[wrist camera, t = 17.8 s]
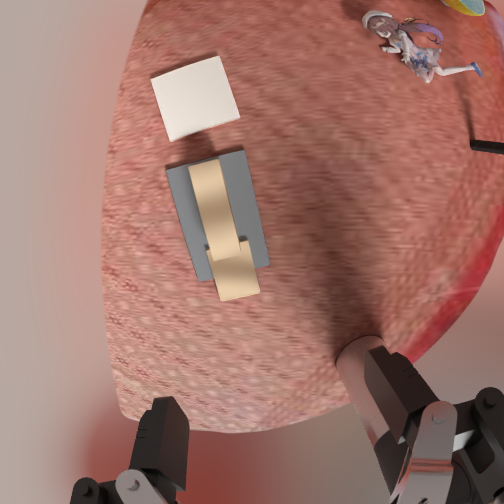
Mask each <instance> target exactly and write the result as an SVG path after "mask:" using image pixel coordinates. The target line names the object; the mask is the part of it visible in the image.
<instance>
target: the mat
mask: <svg viewBox="0 0 504 504" xmlns="http://www.w3.org/2000/svg"><path fill="white" fill-rule="evenodd" d="M219 158H220V162H221V167H222V171H223V175H224V179H225V183H226V188H227V192H228V196H229V200H230V204H231V208H232V213H233V217H234V221H235V225H236V229H237V233H238V237H239V241H242V240H246V239H248V242H249V246H250V251H251V255H252V259H253V264H254V268H255V269H256V268H260V267H264V266H268V265H270V261H269V256H268V252H267V247H266V243H265V238H264V233H263V229H262V224H261V220H260V215H259V211H258V206H257V202H256V197H255V193H254V188H253V184H252V180H251V175H250V171H249V167H248V162H247V158H246V154H245V150H241V151H237V152H232V153H228V154H224V155H220V156H216V157H212V158H208V159H204V160H200V161H197V162H193V163H189V164H186V165H182V166H179V167H176V168H172V169H169V170H166V173H167V176H168V180H169V184H170V188H171V191H172V195H173V198H174V202H175V205H176V209H177V212H178V216H179V219H180V223H181V226H182V229H183V233H184V236H185V239H186V243H187V246H188V249H189V252H190V255H191V258H192V262H193V265H194V268H195V271H196V274H197V277H198V280H199V282H200V281H205V280H209V279H213V278H214V276H213V273H212V269H211V266H210V263H209V259H208V256H207V252H206V249H208V248H210V247H209V244H208V240H207V237H206V233H205V229H204V226H203V222H202V218H201V215H200V211H199V207H198V203H197V200H196V196H195V192H194V188H193V184H192V180H191V176H190V172H189V168H188V167H189V166H192V165H196V164H200V163H203V162H207V161H211V160H215V159H219Z"/></svg>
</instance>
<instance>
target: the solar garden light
mask: <svg viewBox="0 0 504 504" xmlns="http://www.w3.org/2000/svg"><path fill="white" fill-rule="evenodd" d="M470 147H471V149H472V150H475V151H483V152H490V153H496V154H503V155H504V143H500V142H492V141H482V140H471V142H470Z"/></svg>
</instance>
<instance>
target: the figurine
mask: <svg viewBox="0 0 504 504" xmlns="http://www.w3.org/2000/svg"><path fill="white" fill-rule="evenodd" d="M392 17H393V16H392V15H391V14H389V13H386V12H381V11H377V10H372V11H368V12H367V13H366V14H365V15H364V16H363V18H362V22H363V26H364V27H365V28H366V30H367V29H369V30H370V31H371V32H373V33H374V34H379V35H380V36H381V37H385V38H388V40H389V42H390V45H392V46H394V47H395V48H391V47H389V48H388V47H387V48H385V47H382V46H381V47H382V50H383V51H384V52H385V51H388V53H390V52H391V53H400V52H401V50H400V48H401V49H402V50H403V51H404V52H403V53H402V55H403V56H404V58H403V59H401V61H403V60H405V64H406V65H407V66H408V67H409V68H410V69H411V70H412V71H413V72H415V74H416V75H418V76H421V77H422V79H423V80H424V81H425V83H429V82H430V81H431V80H432V78H433V75H434V71H435V72H436V73H438V74H439V75H442V76H445V75H449V74H453V73H457V72H461V71H464V70H475V71H476V72H477V73H478V75H479V76H482V72H481V70H480V69H479V67H478V65H477V63H476V62H473V63H471V64H468V65H466V66H453V67H444V68H443V69H442V68H441V67H440V66H439V65H438V63H437V61H438V59H439V58H440V57H439V52H441V49H433V48H421V47H418V46H416V45H415V44H414V42H413V39H412V38H411V36H410V35H409V34H408V32H407V31H410V32H431V33H433V34H435V35H437V36H438V37H439V38H440V40H441V41H440V43H439V44H441V43H442V41H443V35H442V33H441V32H440V31H439V30H438V29H437V28H435V27H434V26H430V25H429V22H428V21H427V22H428V24H423V23H413V22H412V21H414V20H411V18H407V19H408V20H409V19H410V20H411V21H409V22H410V23H408V22H406V21H408V20H406V19H405V20H406V21H405V20H404V21H405V22H406V23H407V24H406V23H405V22H403V23H401V24H399V23H398V22H396V21H394V20H393V19H391V18H392ZM412 18H415V17H412ZM415 20H422V19H416V18H415ZM425 21H426V20H425ZM407 35H408V36H409V38H410V39H409V38H408V37H407ZM437 36H436V37H437ZM427 37H428V36H427ZM429 40H430V39H429ZM431 41H433V40H431ZM433 42H435V43H436V42H437V38H436V40H435V41H433ZM436 44H438V43H436ZM427 71H428V72H427ZM426 72H427V73H426Z"/></svg>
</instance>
